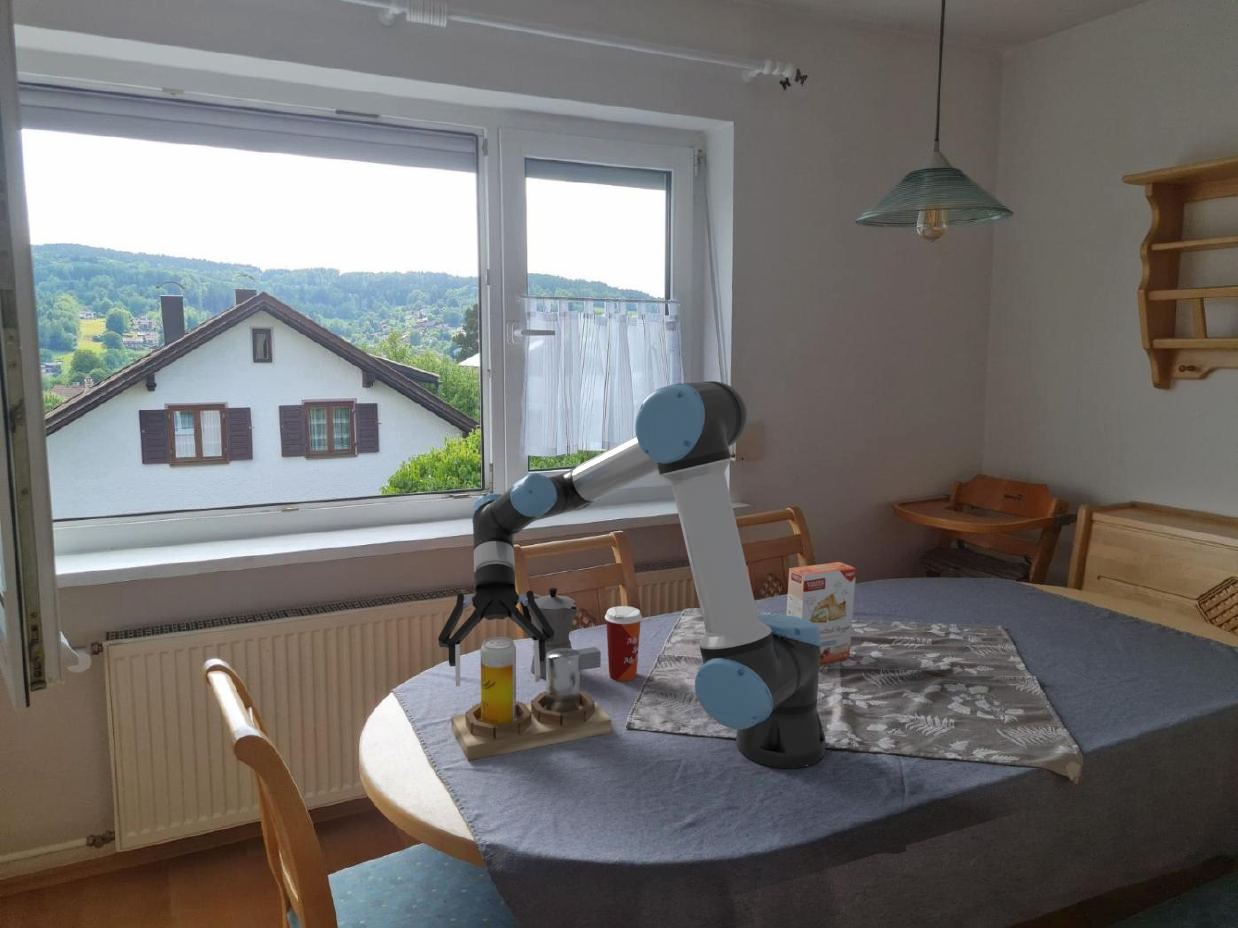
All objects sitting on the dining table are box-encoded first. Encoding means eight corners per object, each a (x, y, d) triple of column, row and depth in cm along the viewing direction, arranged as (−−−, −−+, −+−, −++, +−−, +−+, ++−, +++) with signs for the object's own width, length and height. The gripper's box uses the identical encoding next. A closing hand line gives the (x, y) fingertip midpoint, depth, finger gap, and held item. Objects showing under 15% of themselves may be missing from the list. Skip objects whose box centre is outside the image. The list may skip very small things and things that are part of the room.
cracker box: (799, 669, 183) (804, 574, 179) (782, 659, 188) (787, 567, 185) (851, 659, 188) (857, 567, 185) (834, 650, 194) (839, 560, 190)
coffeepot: (591, 670, 181) (592, 588, 178) (563, 685, 173) (563, 599, 170) (536, 653, 190) (535, 575, 187) (506, 667, 182) (505, 585, 179)
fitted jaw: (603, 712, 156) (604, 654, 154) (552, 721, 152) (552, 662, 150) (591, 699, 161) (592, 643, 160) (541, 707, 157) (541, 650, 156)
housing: (611, 732, 154) (611, 708, 153) (467, 760, 143) (467, 735, 143) (586, 705, 165) (586, 682, 164) (451, 729, 154) (451, 705, 153)
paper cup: (637, 685, 174) (638, 618, 172) (600, 681, 175) (601, 615, 173) (644, 670, 181) (645, 606, 179) (608, 666, 183) (609, 603, 181)
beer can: (482, 715, 154) (481, 635, 151) (516, 715, 154) (516, 635, 152) (479, 731, 148) (479, 649, 145) (515, 731, 148) (515, 648, 146)
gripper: (560, 578, 165) (568, 684, 153) (426, 583, 161) (425, 693, 149) (563, 559, 159) (572, 668, 147) (424, 564, 155) (422, 676, 143)
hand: (498, 681), depth 148 cm, fingers open, 13 cm apart
